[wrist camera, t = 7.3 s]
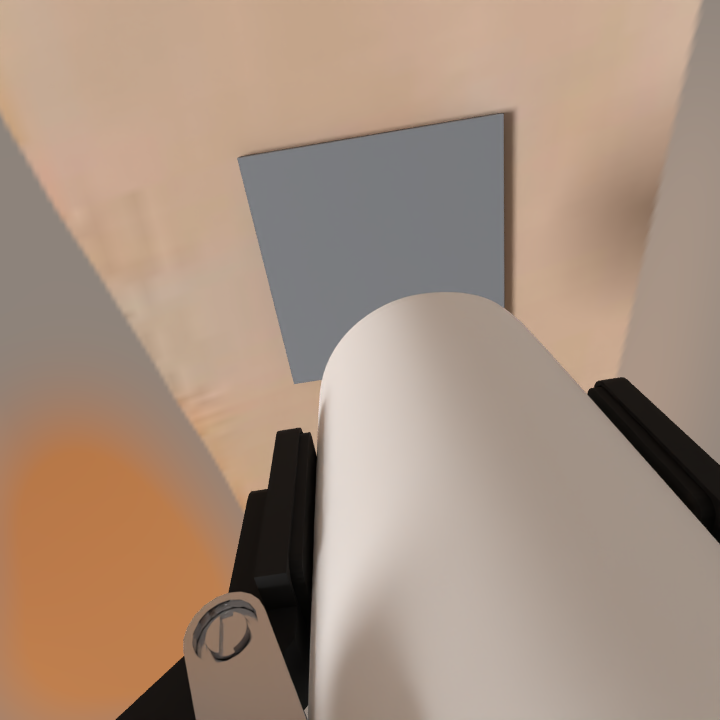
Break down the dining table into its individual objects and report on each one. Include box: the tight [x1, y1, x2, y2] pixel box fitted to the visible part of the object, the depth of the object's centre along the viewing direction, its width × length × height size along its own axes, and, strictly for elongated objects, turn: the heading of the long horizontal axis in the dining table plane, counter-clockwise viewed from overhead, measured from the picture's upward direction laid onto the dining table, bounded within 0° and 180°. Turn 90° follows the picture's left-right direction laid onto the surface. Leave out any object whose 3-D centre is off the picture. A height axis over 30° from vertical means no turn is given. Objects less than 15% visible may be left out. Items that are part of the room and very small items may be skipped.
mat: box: [237, 113, 504, 384], centre depth 24 cm, size 12×12×1 cm
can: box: [308, 292, 720, 720], centre depth 9 cm, size 6×6×12 cm
